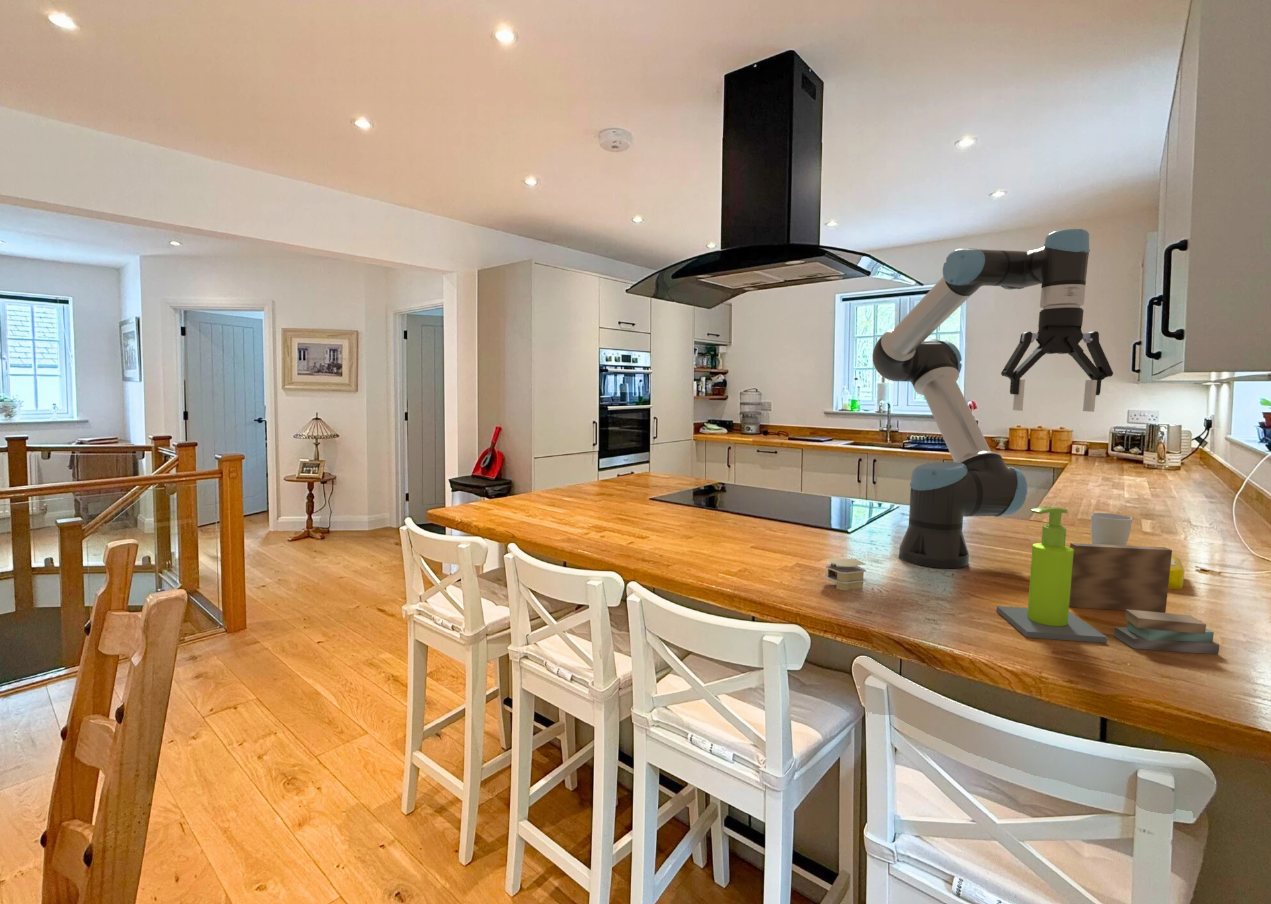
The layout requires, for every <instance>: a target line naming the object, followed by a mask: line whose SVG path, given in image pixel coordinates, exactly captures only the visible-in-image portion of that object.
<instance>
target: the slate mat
mask: <svg viewBox="0 0 1271 904" xmlns="http://www.w3.org/2000/svg"><path fill="white" fill-rule="evenodd" d="M995 611H996V613H998V614H999V615H1000V616H1001V617H1002V618H1003V619H1005V621H1007V622H1008V623H1010V624H1011V626H1013V628H1015V629H1016V630H1017V631H1019V633H1020V634H1022V635H1023V636H1024V637H1026V638H1029V639H1031V638H1032V639H1043V640H1044V639H1046V640H1060V641H1061V640H1062V641H1076V642H1085V643H1086V642H1087V643H1103V644H1107V640H1108V636H1106V635H1104V633H1101V632H1100V631H1099V630H1098V629H1096V628H1094V627H1093V626H1091V625H1090V624H1089V623H1087V622H1085V621H1084V620H1082V619H1081V618H1079V617H1078V616H1077V615H1075V614H1074V613H1072V612H1071V611H1069V614H1068V624H1067V625H1065V626H1049V625H1044V624H1040V623H1037V622H1034V621H1032V620H1030V619H1029V618H1028V617H1027V612H1028V607H1019V606H1018V607H1017V606H1005V605H1004V606H1003V605H997V606H996V610H995Z"/></svg>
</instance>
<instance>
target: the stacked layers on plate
mask: <svg viewBox="0 0 1271 904" xmlns="http://www.w3.org/2000/svg"><path fill="white" fill-rule="evenodd" d="M826 562H828V564H827V565H826V566H825V568H826V569H827V574H825V578H826V579H827V580H832V581H833V582H836V589H837V590H840V591H849V590H856V589H864V582H867V581H866V579H865V578H864V575H865V572H867V569H865V568H863V567H861V566H865V565H866V563H865V562H863V561H861V560H859V559H857V558H841V557H840V558H839V557H838V558H837V557H836V558H834V557H833V558H827V559H826Z"/></svg>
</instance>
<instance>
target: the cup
mask: <svg viewBox="0 0 1271 904" xmlns="http://www.w3.org/2000/svg"><path fill="white" fill-rule="evenodd" d="M1132 523H1133V517H1131V516H1127V515H1122V514H1119V513H1118V514H1117V513H1107V512H1092V513H1090V535H1091V544H1103V545H1125V546H1127V544H1128V541H1129V537H1130V534H1131V528H1132Z"/></svg>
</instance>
